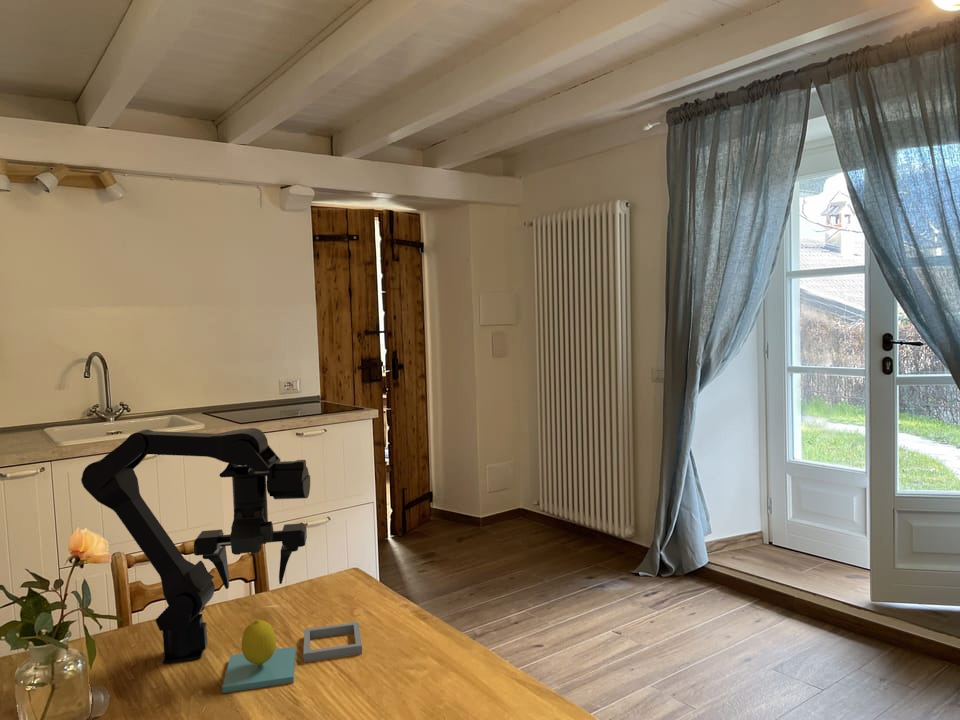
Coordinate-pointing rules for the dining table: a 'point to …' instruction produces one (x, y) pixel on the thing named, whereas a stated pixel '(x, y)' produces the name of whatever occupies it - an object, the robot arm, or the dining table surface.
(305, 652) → the holder
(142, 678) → the dining table surface
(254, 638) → the lemon
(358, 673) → the dining table surface
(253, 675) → the tile
